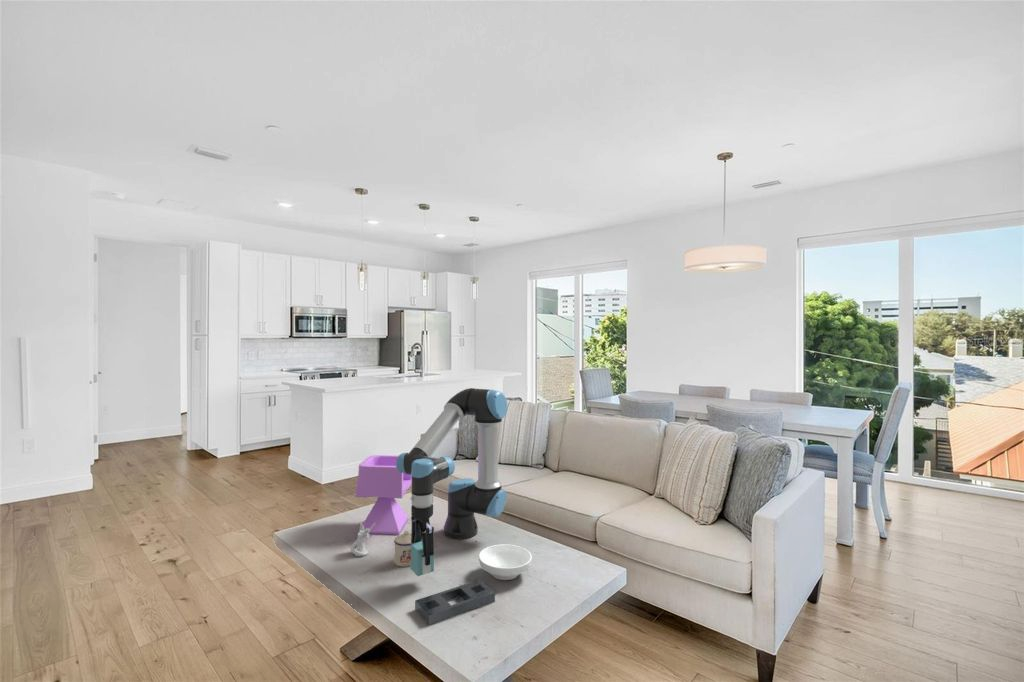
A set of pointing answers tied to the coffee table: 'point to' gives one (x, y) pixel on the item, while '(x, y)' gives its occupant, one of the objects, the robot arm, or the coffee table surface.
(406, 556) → the teacup with lid
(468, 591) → the grey flat slotted block
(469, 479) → the robot arm
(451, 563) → the coffee table surface
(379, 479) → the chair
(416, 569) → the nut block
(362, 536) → the figurine
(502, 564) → the bowl
